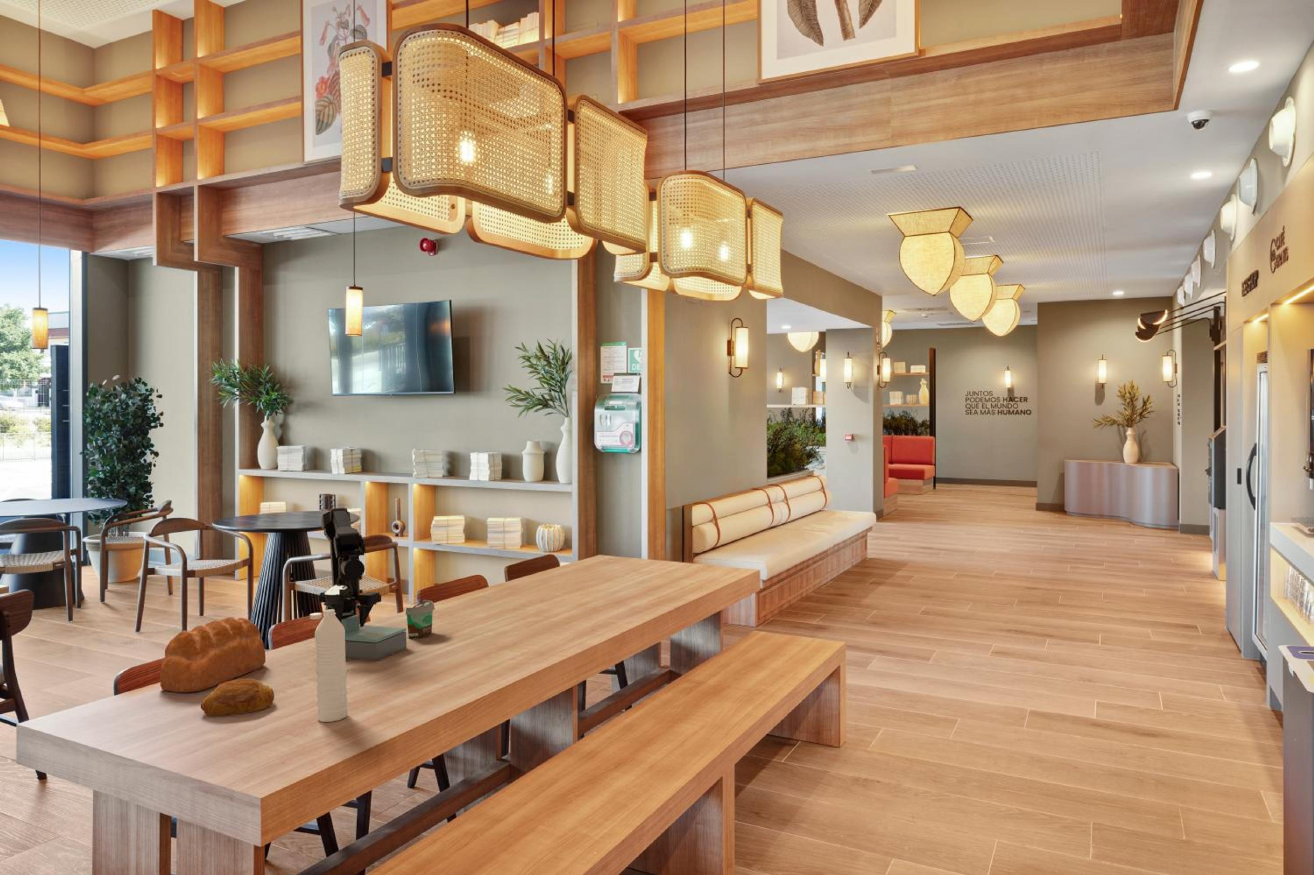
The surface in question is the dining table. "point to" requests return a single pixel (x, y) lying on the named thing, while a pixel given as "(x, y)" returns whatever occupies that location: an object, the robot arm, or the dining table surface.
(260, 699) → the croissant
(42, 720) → the dining table surface
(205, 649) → the bread
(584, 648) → the dining table surface
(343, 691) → the water bottle
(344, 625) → the lid
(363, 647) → the parts box
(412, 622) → the food container
